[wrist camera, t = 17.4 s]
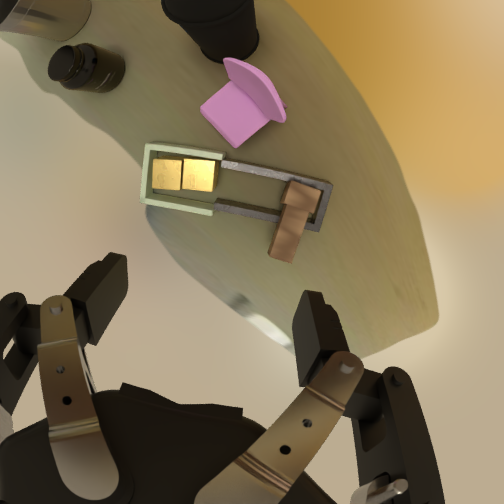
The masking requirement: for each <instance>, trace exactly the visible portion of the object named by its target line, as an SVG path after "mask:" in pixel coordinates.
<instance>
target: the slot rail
mask: <svg viewBox="0 0 504 504" xmlns="http://www.w3.org/2000/svg"><path fill="white" fill-rule="evenodd" d="M221 167H223V168H228V169H233V170H238V171H243V172H248V173H253V174H258V175H263V176H267V177H272V178H276V179H280V180H285V181H291V180H292V181H295V182H298V183H301V184H303V185H306V186H309V187H313V188H317V189H320V191H321V193H320V196H319V199H318V202H317V205H316V208H315V211H314V213H313V215H312V218H308V217H307V220H306V223H305V226H304V229H307V230H311V231H315V232H319V230H320V227H321V224H322V221H323V218H324V214H325V211H326V208H327V205H328V201H329V198H330V195H331V191H332V188H333V185H332V184H331V183H330V182H329V181H325V180H322V179H318V178H314V177H310V176H306V175H302V174H298V173H294V172H290V171H286V170H282V169H277V168H273V167H269V166H264V165H259V164H255V163H250V162H245V161H240V160H235V159H229V158H224V159H223V160H222V164H221ZM213 210H218V211H223V212H228V213H233V214H238V215H242V216H247V217H252V218H257V219H262V220H266V221H271V222H275V223H278V221H279V218H280V215H281V212H282V211H277V210H273V209H268V208H264V207H259V206H254V205H250V204H245V203H240V202H235V201H230V200H225V199H220V198H217V200H216V201H215V203H214V209H213Z"/></svg>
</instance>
